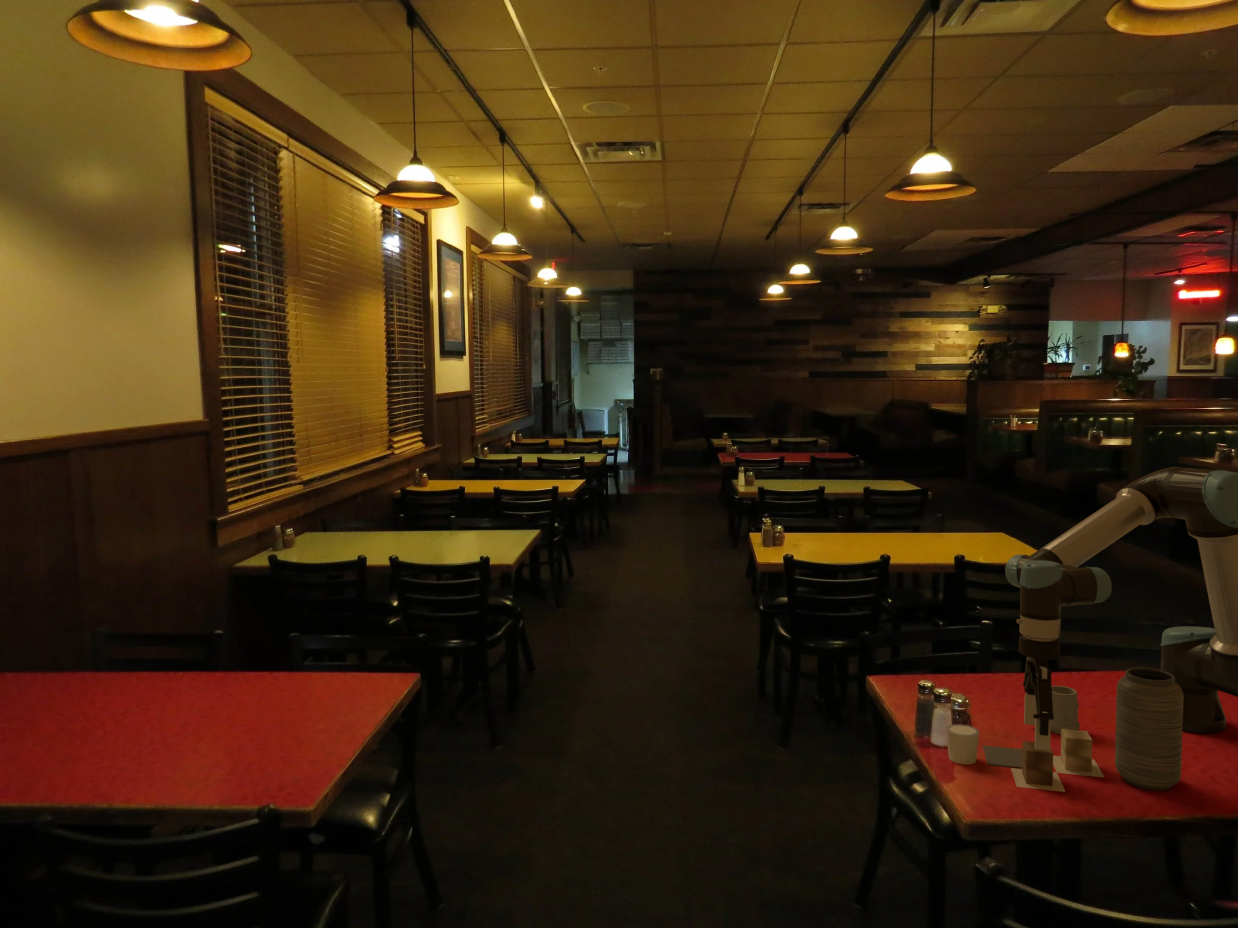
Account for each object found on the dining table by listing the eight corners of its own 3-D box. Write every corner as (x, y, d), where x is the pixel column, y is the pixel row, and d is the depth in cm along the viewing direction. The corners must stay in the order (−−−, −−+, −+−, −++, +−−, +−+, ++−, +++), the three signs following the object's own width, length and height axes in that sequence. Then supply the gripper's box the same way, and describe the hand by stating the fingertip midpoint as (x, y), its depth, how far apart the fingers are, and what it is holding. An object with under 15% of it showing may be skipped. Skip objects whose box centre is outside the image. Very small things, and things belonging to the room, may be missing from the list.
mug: (1084, 737, 200) (1085, 687, 199) (1030, 734, 202) (1031, 685, 201) (1073, 724, 207) (1074, 676, 206) (1021, 722, 209) (1022, 674, 208)
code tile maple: (1094, 760, 187) (1094, 759, 187) (1104, 778, 179) (1104, 776, 179) (1049, 756, 190) (1049, 754, 190) (1056, 773, 181) (1056, 772, 181)
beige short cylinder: (976, 769, 184) (976, 737, 184) (942, 762, 188) (943, 731, 187) (981, 757, 190) (981, 727, 190) (949, 751, 194) (949, 721, 193)
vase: (1191, 796, 170) (1195, 684, 168) (1128, 793, 172) (1130, 682, 170) (1165, 771, 181) (1168, 665, 179) (1105, 768, 183) (1108, 664, 181)
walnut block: (1048, 775, 180) (1048, 743, 179) (1052, 785, 175) (1053, 752, 175) (1022, 772, 181) (1022, 740, 181) (1026, 783, 177) (1026, 750, 176)
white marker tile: (1056, 773, 181) (1056, 772, 181) (1065, 792, 173) (1065, 791, 173) (1010, 769, 184) (1010, 767, 184) (1016, 787, 175) (1016, 786, 175)
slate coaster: (1030, 752, 192) (1030, 749, 192) (1038, 770, 183) (1038, 768, 183) (982, 747, 195) (982, 745, 195) (987, 766, 186) (987, 763, 186)
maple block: (1086, 761, 186) (1086, 730, 185) (1091, 771, 181) (1092, 739, 180) (1060, 759, 187) (1061, 728, 187) (1065, 769, 183) (1065, 737, 182)
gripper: (1010, 619, 189) (1008, 713, 190) (1029, 652, 165) (1026, 758, 167) (1048, 622, 187) (1045, 716, 188) (1072, 655, 163) (1069, 762, 164)
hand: (1036, 736), depth 177 cm, fingers open, 13 cm apart
